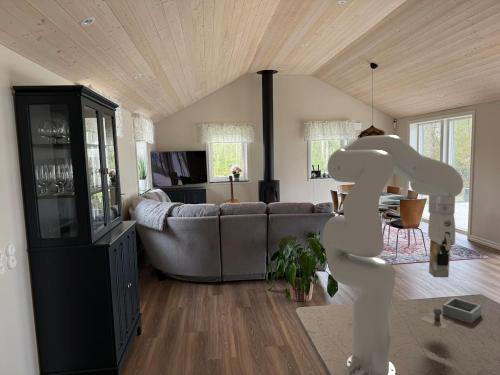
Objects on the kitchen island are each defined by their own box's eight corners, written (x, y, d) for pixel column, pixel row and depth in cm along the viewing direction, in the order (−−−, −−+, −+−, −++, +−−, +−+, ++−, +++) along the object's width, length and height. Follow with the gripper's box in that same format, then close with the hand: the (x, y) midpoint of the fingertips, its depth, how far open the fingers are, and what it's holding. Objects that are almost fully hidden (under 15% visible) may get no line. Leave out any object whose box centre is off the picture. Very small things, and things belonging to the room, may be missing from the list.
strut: (448, 277, 116) (449, 244, 114) (434, 277, 116) (435, 244, 115) (442, 272, 120) (443, 241, 119) (428, 272, 120) (430, 241, 119)
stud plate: (444, 332, 115) (445, 316, 114) (419, 323, 121) (420, 307, 120) (454, 324, 120) (455, 308, 119) (430, 316, 126) (430, 301, 125)
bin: (471, 327, 117) (471, 313, 117) (442, 318, 124) (442, 304, 123) (480, 319, 123) (481, 305, 122) (452, 310, 130) (453, 297, 129)
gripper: (466, 213, 107) (463, 271, 109) (442, 204, 124) (439, 255, 126) (440, 213, 108) (438, 271, 110) (419, 204, 124) (417, 255, 126)
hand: (439, 262), depth 118 cm, fingers closed on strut, 4 cm apart
